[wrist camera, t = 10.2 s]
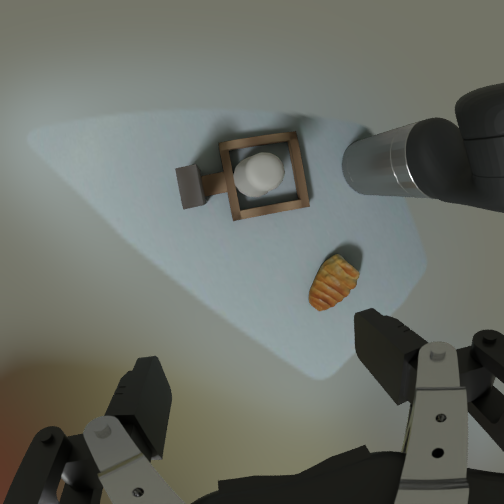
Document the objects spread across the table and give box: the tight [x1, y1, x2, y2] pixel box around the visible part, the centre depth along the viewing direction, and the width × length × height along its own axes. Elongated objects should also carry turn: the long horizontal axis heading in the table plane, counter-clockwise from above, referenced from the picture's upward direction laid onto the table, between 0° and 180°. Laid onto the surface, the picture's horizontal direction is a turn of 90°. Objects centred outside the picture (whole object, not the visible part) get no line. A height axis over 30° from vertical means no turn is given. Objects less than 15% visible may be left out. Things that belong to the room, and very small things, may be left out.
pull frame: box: [175, 131, 310, 221], centre depth 37 cm, size 17×11×8 cm, turn 100°
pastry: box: [309, 254, 360, 311], centre depth 45 cm, size 9×7×4 cm
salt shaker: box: [233, 152, 285, 197], centre depth 35 cm, size 6×6×13 cm
